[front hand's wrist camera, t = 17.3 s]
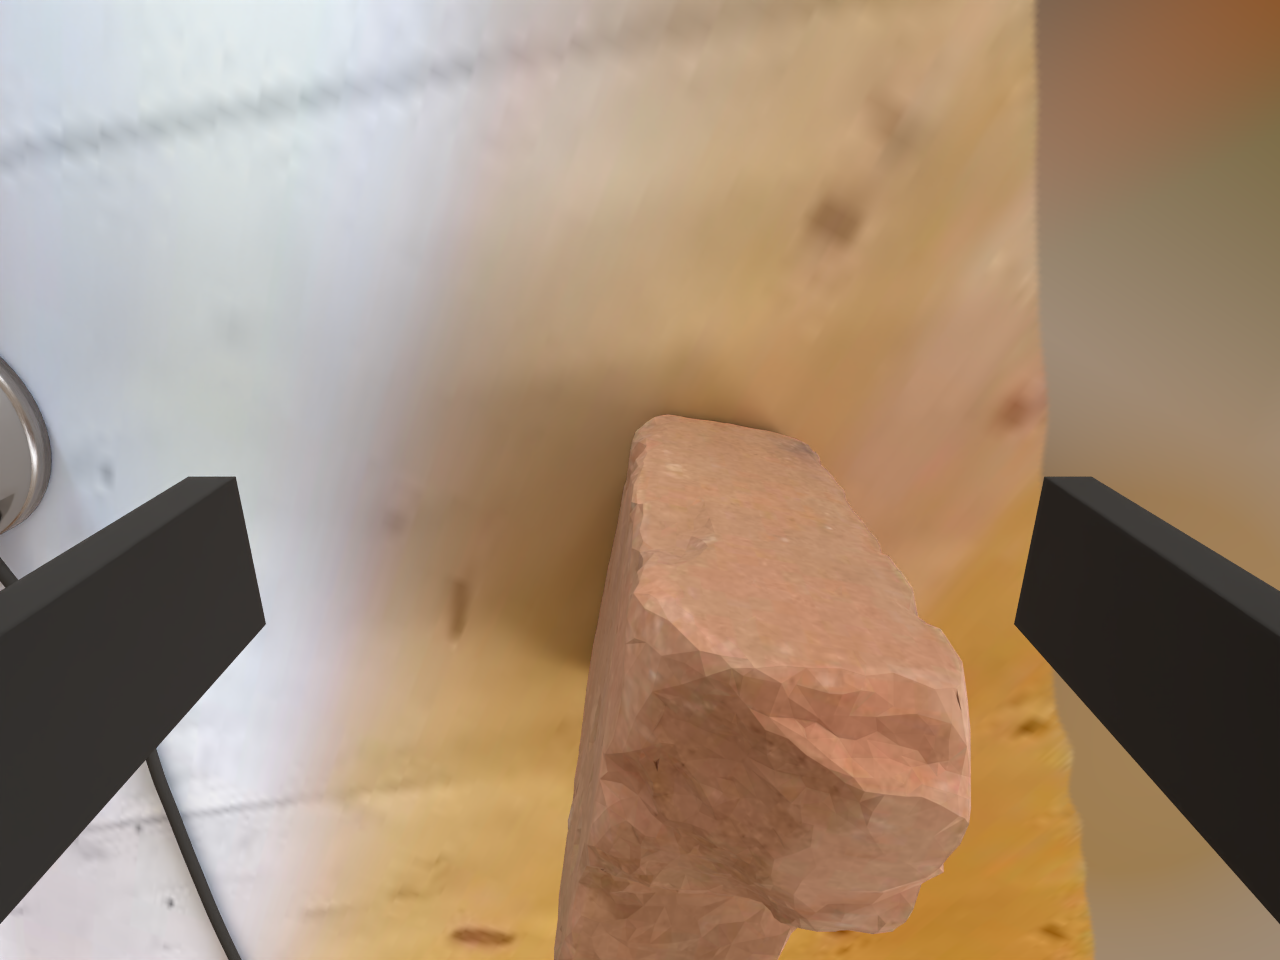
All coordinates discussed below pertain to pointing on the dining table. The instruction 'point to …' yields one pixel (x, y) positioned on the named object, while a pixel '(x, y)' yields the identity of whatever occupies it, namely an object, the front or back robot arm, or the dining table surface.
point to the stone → (755, 714)
